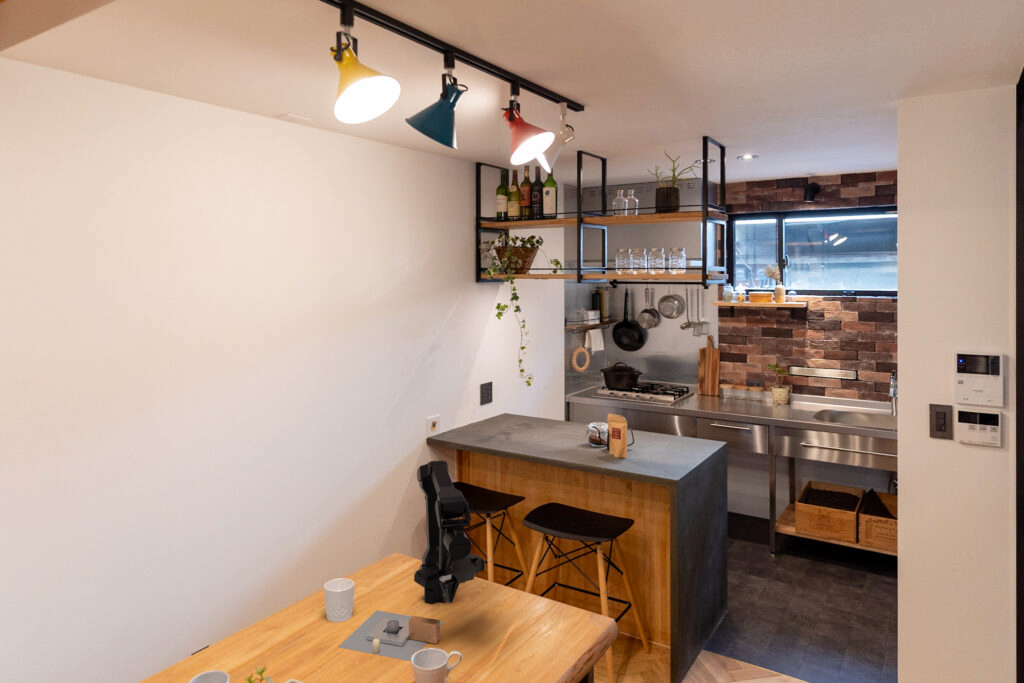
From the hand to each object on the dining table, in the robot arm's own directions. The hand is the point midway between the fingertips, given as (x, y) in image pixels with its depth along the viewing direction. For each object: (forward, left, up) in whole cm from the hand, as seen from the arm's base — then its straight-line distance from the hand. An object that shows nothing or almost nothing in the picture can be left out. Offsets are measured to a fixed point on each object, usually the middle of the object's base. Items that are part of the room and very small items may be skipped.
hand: (450, 602), depth 176 cm
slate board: (+5, -14, -10) cm, 17 cm away
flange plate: (+5, -10, -8) cm, 14 cm away
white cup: (+1, -32, -10) cm, 33 cm away
